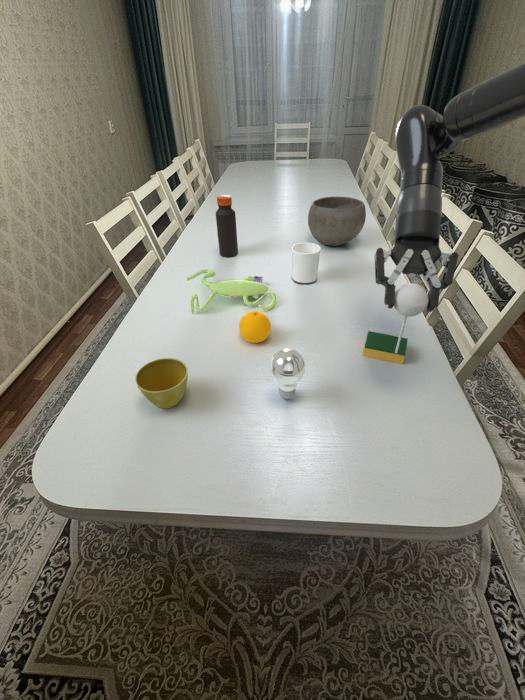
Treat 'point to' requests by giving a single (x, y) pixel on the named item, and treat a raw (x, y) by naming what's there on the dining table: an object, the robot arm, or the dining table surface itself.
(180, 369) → the flower pot
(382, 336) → the sponge
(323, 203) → the bowl
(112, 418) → the dining table surface
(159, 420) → the dining table surface
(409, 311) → the lollipop
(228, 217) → the bottle
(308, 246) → the mug
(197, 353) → the dining table surface
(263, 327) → the orange
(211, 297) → the figurine
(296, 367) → the light bulb
